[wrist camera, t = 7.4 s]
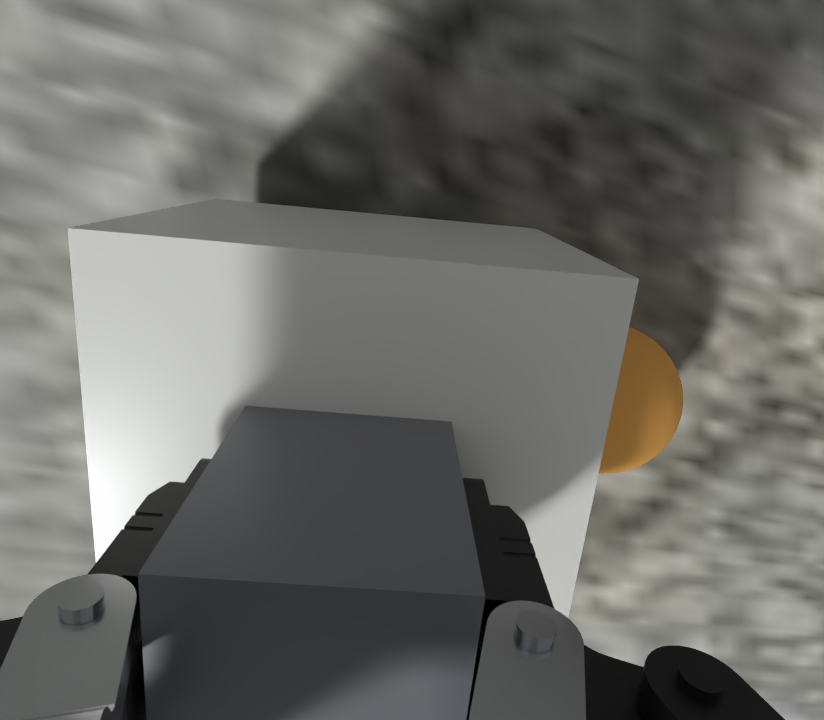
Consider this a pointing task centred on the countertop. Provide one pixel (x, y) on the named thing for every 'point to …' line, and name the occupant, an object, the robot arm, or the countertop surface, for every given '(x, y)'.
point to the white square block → (336, 441)
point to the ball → (642, 405)
